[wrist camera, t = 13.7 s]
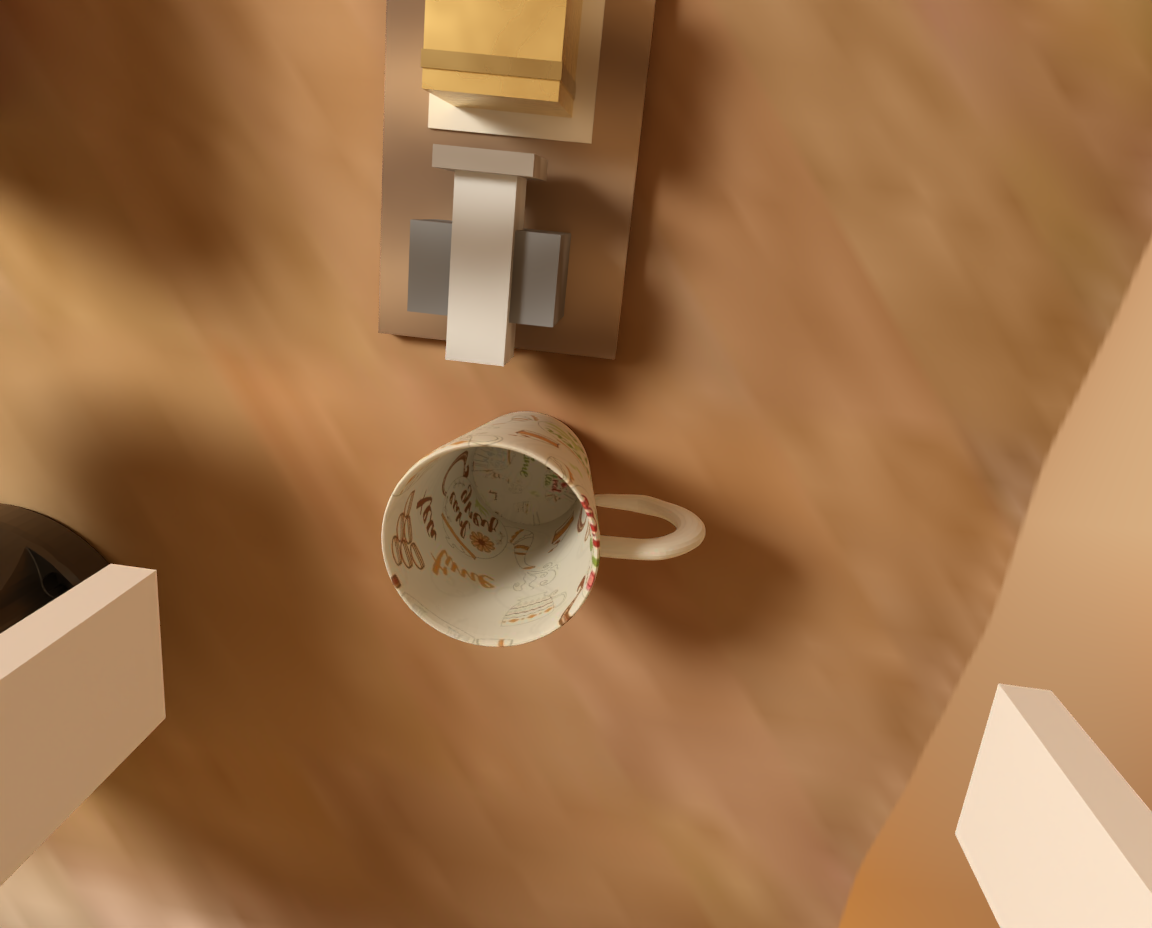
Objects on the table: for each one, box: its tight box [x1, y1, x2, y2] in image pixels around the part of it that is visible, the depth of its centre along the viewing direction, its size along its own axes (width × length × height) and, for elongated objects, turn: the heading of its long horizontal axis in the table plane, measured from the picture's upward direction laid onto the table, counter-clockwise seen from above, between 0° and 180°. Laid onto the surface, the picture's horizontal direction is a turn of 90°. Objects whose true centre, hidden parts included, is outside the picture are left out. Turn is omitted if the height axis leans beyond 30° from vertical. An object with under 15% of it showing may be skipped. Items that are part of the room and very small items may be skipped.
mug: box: [381, 411, 706, 647], centre depth 35 cm, size 8×13×10 cm, turn 87°
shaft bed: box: [378, 0, 656, 366], centre depth 31 cm, size 26×11×6 cm, turn 174°
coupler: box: [420, 0, 583, 118], centre depth 31 cm, size 6×5×5 cm
